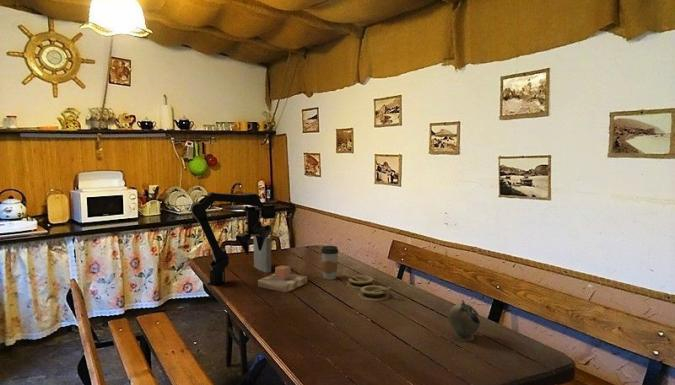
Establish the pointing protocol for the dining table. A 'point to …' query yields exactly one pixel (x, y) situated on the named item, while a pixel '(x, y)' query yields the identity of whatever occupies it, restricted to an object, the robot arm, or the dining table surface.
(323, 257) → the coffee cup
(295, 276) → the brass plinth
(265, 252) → the hip flask
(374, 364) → the dining table surface
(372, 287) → the tableware set
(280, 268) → the terracotta cube
